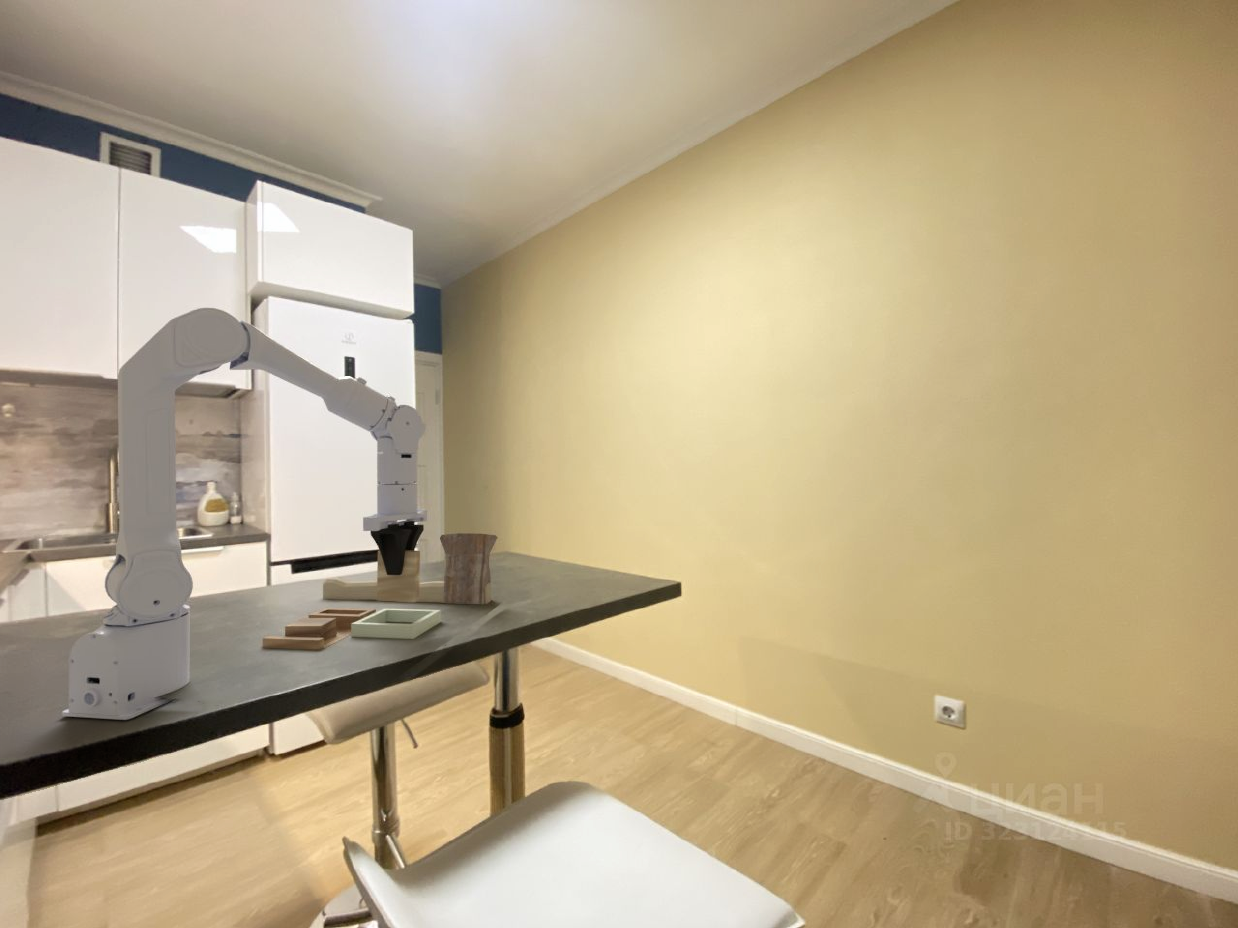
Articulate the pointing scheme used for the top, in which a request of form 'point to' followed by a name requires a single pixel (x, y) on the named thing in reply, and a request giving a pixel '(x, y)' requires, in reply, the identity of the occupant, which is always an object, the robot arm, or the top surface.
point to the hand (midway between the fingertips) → (398, 573)
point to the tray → (380, 629)
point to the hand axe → (461, 578)
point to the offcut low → (325, 635)
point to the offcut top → (310, 626)
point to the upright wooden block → (399, 580)
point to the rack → (343, 630)
